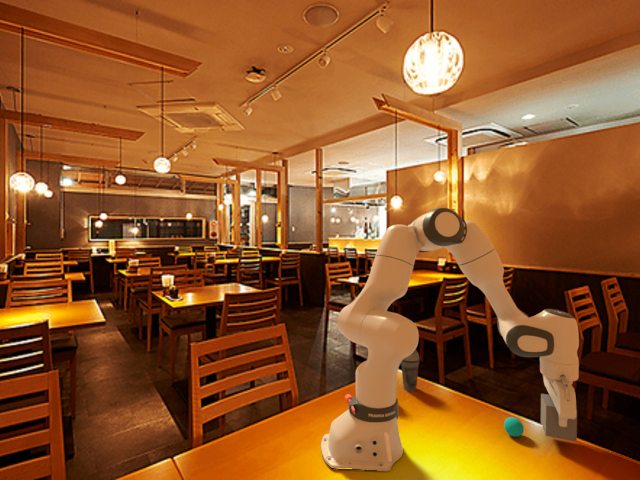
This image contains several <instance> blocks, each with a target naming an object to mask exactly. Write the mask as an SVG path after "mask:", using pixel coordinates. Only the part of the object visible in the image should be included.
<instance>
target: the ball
mask: <svg viewBox="0 0 640 480" xmlns="http://www.w3.org/2000/svg"><path fill="white" fill-rule="evenodd" d="M503 428H504V430H505V431H506V433H507V434H508V435H510V436H511V437H515V438H518V437H521V436H522V435H523V433H524V425H523V423H522V422H521V420H520V419H518V418H517V417H514V416H513V417H512V416H511V417H507V418H506V419H505V420H504V423H503Z"/></svg>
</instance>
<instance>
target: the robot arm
mask: <svg viewBox="0 0 640 480" xmlns="http://www.w3.org/2000/svg"><path fill="white" fill-rule="evenodd" d="M440 249H445V250H447V251H449V253H450V254H451V255H452V256H453V258H454V260H455V262H456V264H457V265H458V267H459V269H460V271H461V272H462V274H464V277H465V278H467V280H468V281H469V282H470V283H471V284H472V285H473V286H475V287H477V288H478V289H479V290H480V291H481V292H482V293H483V294H484V295H485V297H486V299H487V300H488V302H489V304H490V306H491V308H492V309H493V311H494V313H495V315H496V320H497V330H498V332H499V334H500V336H501V337H502V338H503V340H504V342H505V344H506V346H507V348H508V349H509V350H510V352H512V353H513V354H514V355H516V356H519V357H522V358H523V357H524V358H539V371H540V373H541V374H542V379H543V385H544V387H545V388H546V390H547V392H548V395H550V397H551V399H552V401H553V403H554V406H555V408H556V410H557V412H558V414H559V417H558V423H559V426H562V427H567V420H568V419H575V418H576V409H577V399H576V398H577V397H576V392H575V391H576V390H575V388H574V386H573V382H575V381H578V380H579V375H580V374H579V370H580V369H579V367H580V363H579V359H580V358H579V357H578V349H579V346H580V338H579V336H580V335H579V327H578V326H579V325H578V322H577V320H576V318H575V317H574V316H573V315H571V314H570V313H568V312H565V311H563V310H560V309H559V310H558V309H555V308H554V309H553V308H544V310H542V311H541V312H539V313H537V314H535V315H533V316H530V317H529V315H528V314H526V313H525V312H523V311H522V310H520V308H518V307H517V305H516V303H515V302H514V300H513V298H512V296H511V295H510V293H509V291H508V289H507V288H506V286H505V283H504V278H503V277H504V273H505V269H504V265H503V263H502V260H501V258H500V255H499V253H498V251H497V250H496V248H495V246H494V245H493V243H492V242H491V240H490V239H489V237H488V236H487V234H486V233H485V231H483V230H482V228H481V227H480V226H479V225H478V224H477V223H476V222H475V221H472V220H464V219H463V218H462V217H461V216H460V215H459V214H458V213H457V212H456V211H454V210H453V209H451V208H448V207H437V208H433V209H431V210H430V211H428V212H425V213H423V214H422V215H420V216H418V217H417V218H416V219H414V220H412V221H411V222H409V224H408V225H406V224H402V223H401V224H398V223H397V224H393V225H390V226H389V227H388V228H387V229H386V230H385V232H384V234H383V236H382V238H381V240H380V241H379V245H378V247H377V250H376V252H375V256H374V259H373V263H372V265H371V269H370V273H369V276H368V278H367V281H366V282H365V284H364V287H362V290H361V292H360V293H359V294H358V295H357V296H356V298H355V299H354V300H353V301H352V302H351V303H349V304H347V305H346V306H344V307H343V308H342V309H341V310H340V312H339V314H338V316H337V321H336V324H337V328H338V331H339V333H340V334H341V335H342V336H343V337H345V338H346V339H348V340H349V341H350V342H352V343H355V344H357V345H359V346H362V347H363V348H364V347H365V348H367V352H368V355H367V359H366V360H365V361H363V362H360V364H359V365H358V366H357V368H356V369H355V395H354V396H353V397H352V395H351V394H350V393H347V394H345V396H344V399H345V402H346V404H348V409H347V410H345V411H344V412H343V413H342V414H341V415H339V416H337V417H336V418H334V420H332V422H331V424H330V427H329V433H325V434H324V435H323V437H322V439H321V443H320V451H322V453H321V456H322V455H323V457H322V459H323V458H324V459H323V461H324V460H325V461H324V463H325V462H326V463H327V464H328V465H329V466H330V467H332V468H352V469H368V470H377V471H376V472H389V471H391V469H392V467H393V465H394V464H395V462H397V461H398V460H400V459H401V457H402V455H403V453H404V449H403V445H402V441H401V437H400V431H399V425H398V420H399V411H400V410H399V399H398V398H397V381H398V370H399V368H400V366H401V362H402V360H403V359H405V358H406V357H408V356H410V355H411V354H412V353H413V352H414V350H417V347H418V344H419V340H420V338H419V337H420V336H419V329H418V327H417V324H415V322H413V321H412V320H411V319H409V318H408V317H405V316H403V315H401V314H399V313H397V312H391V311H388V308H389V307H390V306H391V304H393V302H395V301H397V300H398V299H400V298H402V297H404V296H405V295H406V293H407V291H408V288H409V285H410V281H411V277H412V273H413V271H414V265H415V262H416V258H417V256H418V254H419V253H428V252H432V251H438V250H440ZM326 463H325V464H326ZM327 464H326V465H327ZM328 465H327V466H328ZM329 466H328V467H329ZM330 467H329V468H330Z"/></svg>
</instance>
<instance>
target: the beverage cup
mask: <svg viewBox="0 0 640 480" xmlns="http://www.w3.org/2000/svg"><path fill="white" fill-rule="evenodd" d="M420 360H421V358H420V355H419V352H418V351H417V349H415V350H414V352H413V353H412V354H411V355H410V356H408V357H406V358H405V359H403V360H402V362H401V363H400V366H401V374H402V384H403V389H404V390H405V391H406V390H407V392H410V391H412V392H415V391H416V390H417V384H418V374H419V373H418V372H419V365H420Z"/></svg>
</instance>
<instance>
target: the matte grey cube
mask: <svg viewBox="0 0 640 480" xmlns="http://www.w3.org/2000/svg"><path fill="white" fill-rule="evenodd" d="M558 417H559V414H558V412H557V410H556V408H555V406H554V403H553V401H552V399H551V397H550V395H549V393H548V394H547V393H540V423H541V427H542V430H543V432H544V434H545V436H546V437H550V438H554V439H556V438H557V439H562V440H565V441H572V442H577V441H578V439H577V437H578V435H577V434H578V410H577V408H576V418H575V419H568V420H567V427H562V426H559V423H558ZM542 425H543V426H542Z"/></svg>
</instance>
